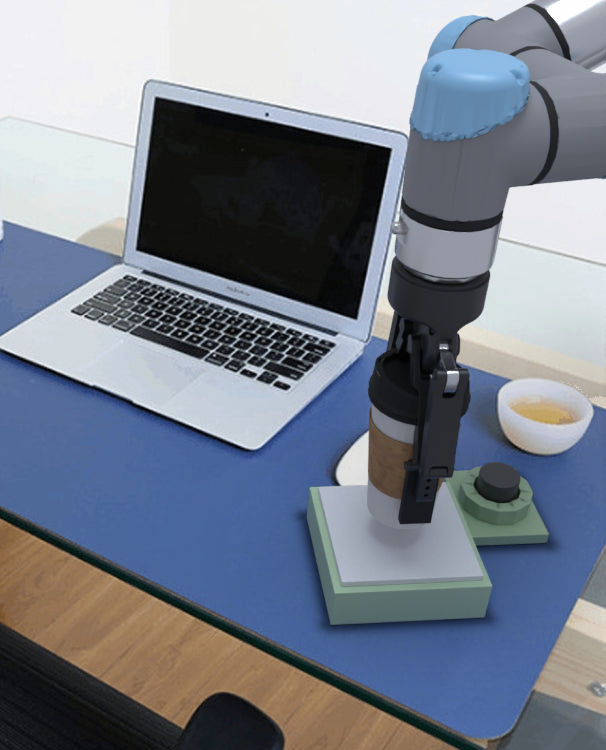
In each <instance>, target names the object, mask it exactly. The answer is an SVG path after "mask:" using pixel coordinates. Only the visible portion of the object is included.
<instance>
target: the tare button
mask: <svg viewBox="0 0 606 750" xmlns="http://www.w3.org/2000/svg"><path fill="white" fill-rule="evenodd" d="M481 466H482V467H481V468H480V471H479V475H478V480H477V484H476V489H477V491H478V493H479V494H480V495H481V496H482V497H483V498H485V499H486V500H489V501H492V502H495V503H508V502H510V501H512V500H514V499H515V497H516V496H517V492H518V488H519V484H520V480H521V478H520V476H521V475H520V473H519V471H518V469H517V468H515V467H514V466H512V465H510V464H508V463H504V462H501V461H490V462H487V463H484V464H483V465H481Z"/></svg>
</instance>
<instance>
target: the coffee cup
mask: <svg viewBox="0 0 606 750" xmlns="http://www.w3.org/2000/svg"><path fill="white" fill-rule="evenodd" d="M374 362H375V363H374V367H373V370H372V373H371V376H370V377H369V380H368V387H367V395H368V398H369V401H370V402H371V405H370V407H369V412H368V448H367V449H368V451H367V453H368V454H367V485H368V490H367V507H368V510H369V512H370V513H371V515H372V516H373V517H374V518H375V519H376V520H377V521H379V522H380V523H382V524H384V525H386V526H389V527H392V528H396V529H414V528H418V527H420V526H422V525H424V524H400V523H399V520H398V515H399V509H400V503H401V497H402V491H403V486H404V480H405V474H406V471H405V469H404V461H408V460H413V437H414V429H415V426H417V420H418V415H417V414H418V405H419V398H418V396H417V395H415V388H414V387H413V386H412V385H411V384H410V381H409V378H410V362H401V360H400V357H399V356H398V352H397V348H394V349H391V350H388V351H386V350H385V352H383V353H381V354H380V355H378V356H377V357H376V358H375V361H374ZM456 367H457V368H463V367H462V365H459V363H457V362H456ZM430 375H431V374H427V375H425V374H420V377H429V376H430ZM470 389H471V382H470V380H469V381H468V384H467V388H466V391H465V394H464V397H463V405H462V412H461V418H463V417H464V416H465V415H466V414H467V412H468V410H469V409H470V408H469V407H470V403H471V398H472V396H471V390H470ZM420 401H421V402H422V403H423V404H424V405H425V406H427V400H420ZM461 426H462V424H461V423H460V427H459V431H460V430H461ZM443 479H444V478H439V484H438V489H437V494H436V499H435V503H436V500H437V497H438V493H439V490H440V487H441V485H442V482H443ZM434 507H435V504H434ZM433 510H434V509H433ZM425 524H426V523H425Z"/></svg>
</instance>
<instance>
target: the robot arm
mask: <svg viewBox="0 0 606 750" xmlns="http://www.w3.org/2000/svg"><path fill="white" fill-rule="evenodd" d="M605 64H606V0H532V1H530V2H529V3H527V4H525V5H523V6H522V7H519V8H517V9H516V10H514V11H512V12H510V13H508V14H506V15H504V16H502V17H500V18H498V19H496V20H495V19H493V18H491V17H489V16H480V15H476V14H475V15H474V14H471V15H470V14H469V15H464V16H460V17H456V18H455V19H453V20H451V21H450V22H448V23H447V24H445V25H444V26H443V28H441V30H440V31H439V32H438V33H437V34H436V36H435V37H434V39H433V40H432V43H431V44H430V47H429V50H428V53H427V58H426V60H425V62H424V64H423V65H422V68H421V69H420V74H419V78H418V82H417V85H416V88H415V93H414V99H413V105H412V109H411V112H410V113H409V121H408V124H409V134H408V143H407V151H406V158H405V165H404V175H403V180H402V189H401V198H400V207H399V217H398V221H392V222H391V223H390V233H391V234H392V235H395V242H394V254H395V255H394V257H393V258H392V260H391V266H390V273H389V279H388V288H387V295H386V296H387V301H388V304H389V305H390V307H391V309H392V310H393V315H392V320H391V325H390V329H389V334H388V340H387V343H386V344H387V345H386V349H385V352H386V351H388V350H391V349H394V348H397V352H398V356H399V357H400V360H401V362H410V378H409V381H410V384H411V385H412V386H413V387H414V388H415V395H417V396H418V398H419V405H418V414H417V415H418V420H417V426H415V429H414V437H413V460H408V461H404V469H405V471H406V474H405V480H404V486H403V491H402V497H401V503H400V509H399V515H398V520H399V523H400V524H425V523H431V519H432V514H433V509H434V504H435V499H436V494H437V489H438V484H439V478H452V477H453V473H454V471H455V464H456V456H457V448H458V441H459V434H460V430H459V427H460V428H461V425H460V424H461V419H462V417H461V412H462V405H463V397H464V394H465V391H466V388H467V384H468V381H470V378H471V377H470V376H471V375H470V372H469V369H468V367H462V368H457V367H456V363H457V359H458V356H459V355H460V352H461V336H460V334H459V331H460V330H461V329H463V328H464V327H465V326H467V325H469V324H471V323H473V322H474V321H476V320H477V319H478V318H479V317H480V316H481V315H482V313H483V311H484V309H485V306H486V305H485V304H486V300H487V294H488V289H489V285H490V280H491V271H490V270H491V269H492V266H493V265H494V263H495V259H496V253H497V250H498V245H499V239H500V234H501V230H502V224H503V219H504V212H505V207H506V203H507V198H508V194H509V192H510V188H519V187H530V186H535V185H542V184H543V185H544V184H552V183H554V184H555V183H564V182H573V181H582V180H584V181H585V180H595V179H598V180H606V72H604V73H602V72H595V71H594V70H597V69H598V68H600V67H601V66H603V65H605ZM420 374H425V375H427V374H431V375H430V376H429V377H420ZM420 400H427V406H425V405H424V404H423V403H422V402H421V401H420Z"/></svg>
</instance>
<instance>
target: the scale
mask: <svg viewBox="0 0 606 750" xmlns="http://www.w3.org/2000/svg"><path fill="white" fill-rule="evenodd" d="M308 489H309V490H308V501H307V509H306V520H307V525H308V529H309V535H310V538H311V543H312V548H313V552H314V557H315V562H316V565H317V569H318V570H317V571H318V574H319V575H318V576H319V579H320V584H321V588H322V592H323V596H324V601H325V606H326V610H327V615H328V619H329V624H330V626H339V625H361V624H377V623H379V624H381V623H398V622H419V621H421V622H422V621H437V620H439V621H440V620H461V619H462V620H463V619H479V618H485V617H486V613H487V610H488V606H489V601H490V598H491V595H492V591H493V584H492V582H491V579H490V577H489V574H488V572H487V569H486V567H485V565H484V562H483V560H482V558H481V555H480V553H479V550H478V548H477V546H476V545H475V543H474V540H473V538H472V535H471V533H470V531H469V528H468V526H467V523H466V521H465V518H464V516H463V514H462V511H461V509H460V506H459V504H458V502H457V499H456V497H455V494H454V492H453V489H452V487H451V485H450V482H442V485H441V487H440V490H439V493H438V497H437V500H436V503H435V507H434V510H433V514H432V519H431V523H426V524H424V525H422V526H420V527H418V528H414V529H396V528H392V527H389V526H386V525H384V524H382V523H380V522H379V521H377V520H376V519H375V518H374V517H373V516H372V515H371V513H370V512H369V510H368V507H367V490H368V484H359V485H358V484H356V485H329V486H309V488H308Z"/></svg>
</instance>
